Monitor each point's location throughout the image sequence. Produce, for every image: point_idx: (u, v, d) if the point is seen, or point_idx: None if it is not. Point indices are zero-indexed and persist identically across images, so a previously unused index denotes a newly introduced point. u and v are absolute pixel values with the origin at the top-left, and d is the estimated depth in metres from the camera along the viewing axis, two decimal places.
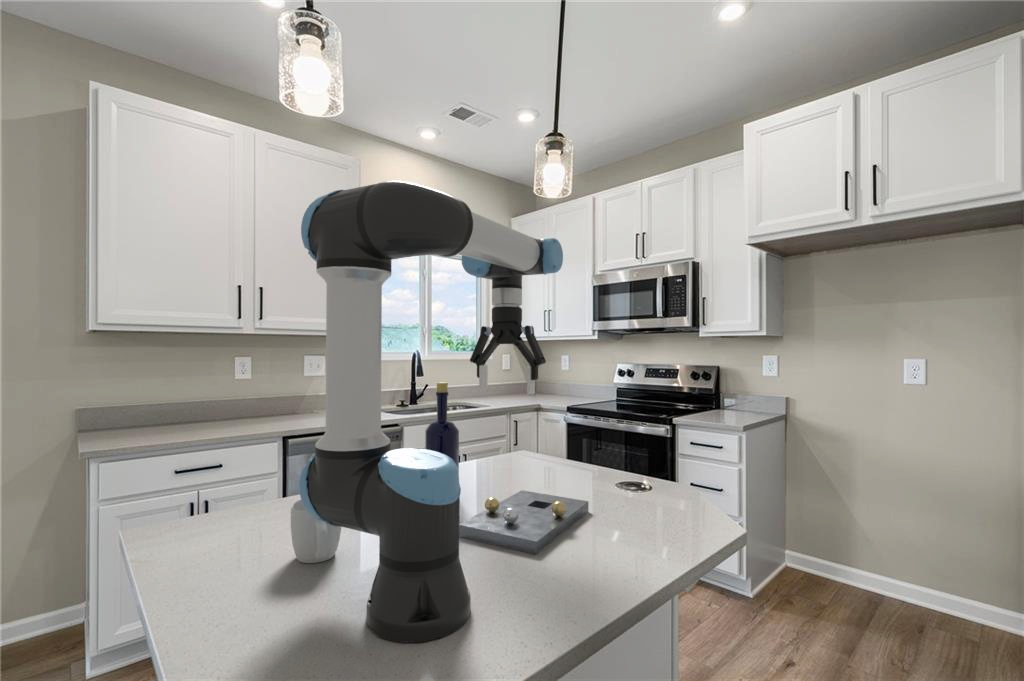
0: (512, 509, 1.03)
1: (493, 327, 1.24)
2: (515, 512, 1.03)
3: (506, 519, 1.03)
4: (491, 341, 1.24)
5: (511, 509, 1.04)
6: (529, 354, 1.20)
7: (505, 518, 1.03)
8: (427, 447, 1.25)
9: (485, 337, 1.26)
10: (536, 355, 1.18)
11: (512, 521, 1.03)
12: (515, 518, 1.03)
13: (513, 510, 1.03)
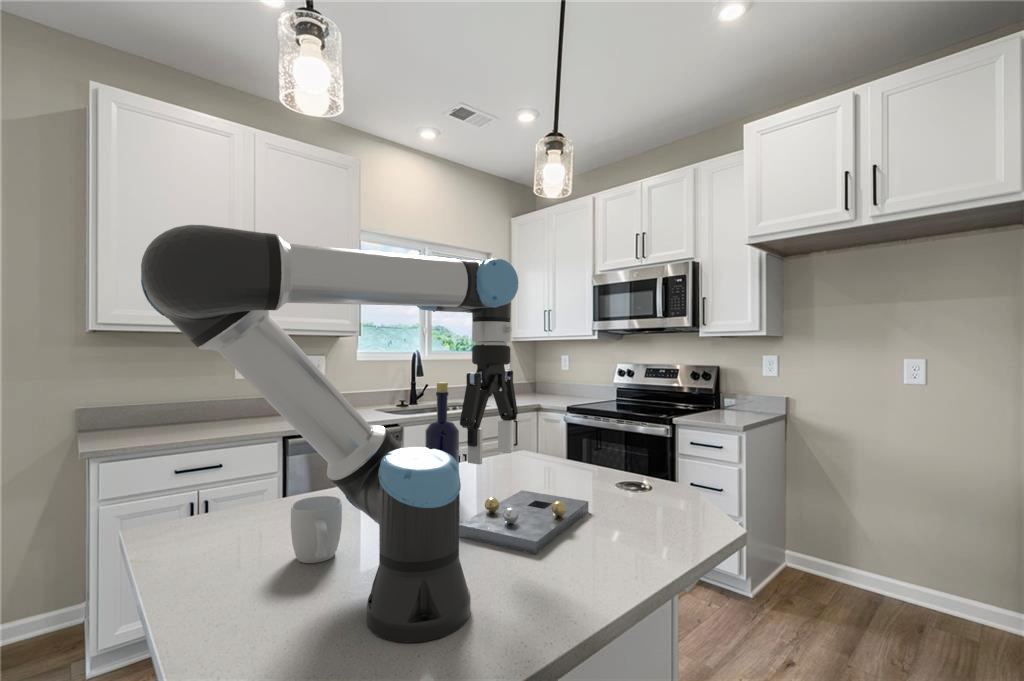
0: (512, 509, 1.03)
1: None
2: (515, 512, 1.03)
3: (506, 519, 1.03)
4: None
5: (511, 509, 1.04)
6: None
7: (505, 518, 1.03)
8: (427, 447, 1.25)
9: None
10: None
11: (512, 521, 1.03)
12: (515, 518, 1.03)
13: (513, 510, 1.03)
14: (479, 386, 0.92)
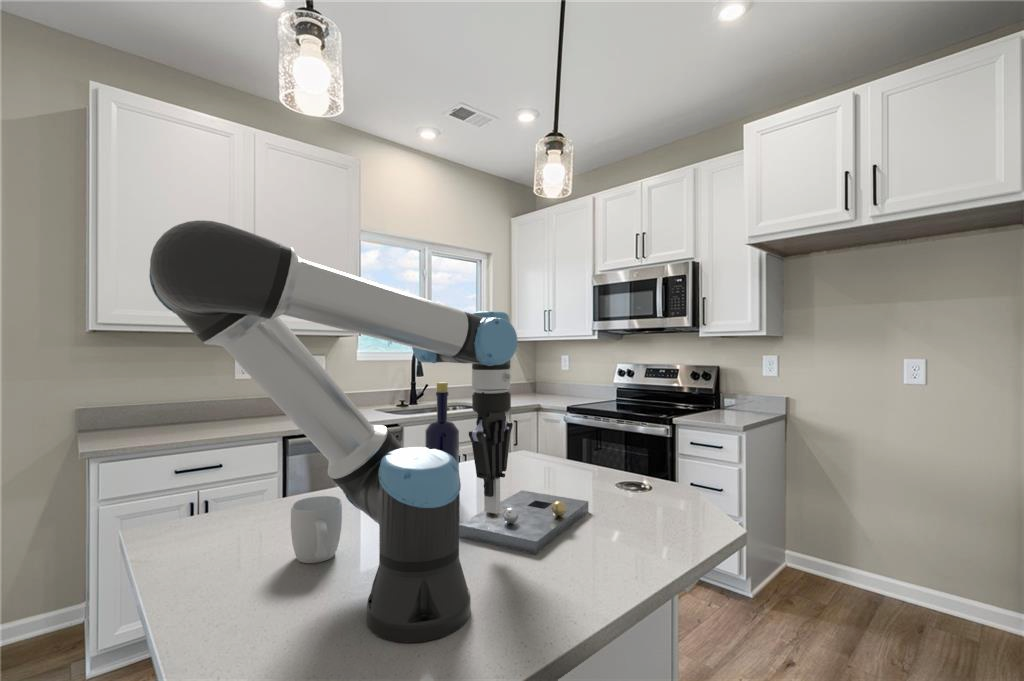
0: (512, 509, 1.03)
1: None
2: (515, 512, 1.03)
3: (506, 519, 1.03)
4: None
5: (511, 509, 1.04)
6: None
7: (505, 518, 1.03)
8: (427, 447, 1.25)
9: None
10: None
11: (512, 521, 1.03)
12: (515, 518, 1.03)
13: (513, 510, 1.03)
14: (484, 441, 0.93)
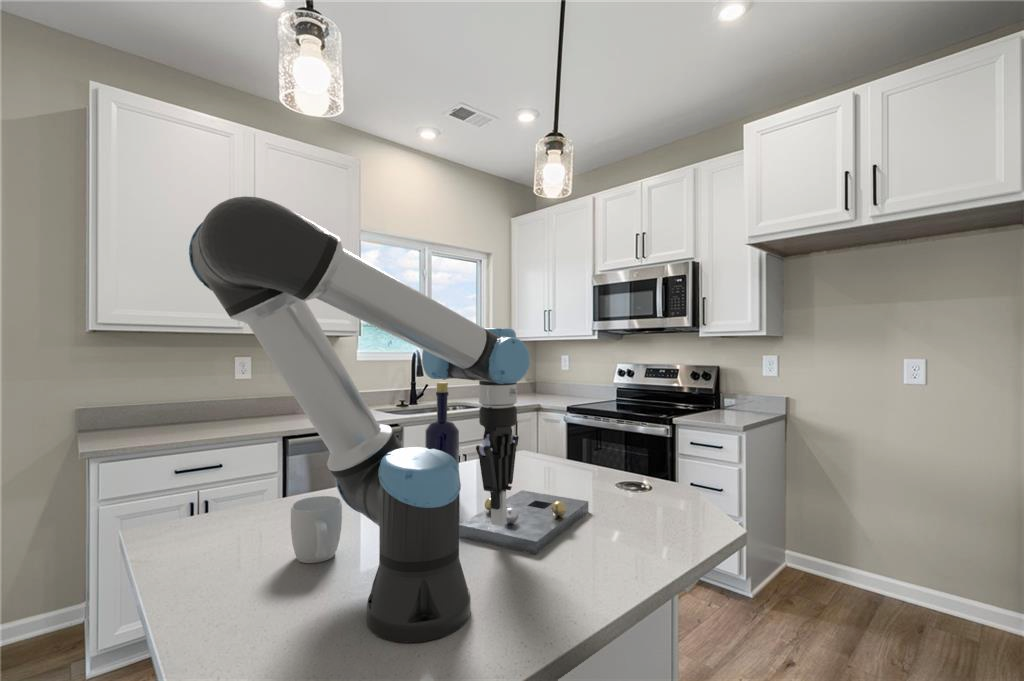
0: (512, 509, 1.03)
1: None
2: (515, 512, 1.03)
3: (506, 519, 1.03)
4: None
5: (511, 509, 1.04)
6: None
7: None
8: (427, 447, 1.25)
9: None
10: None
11: (512, 521, 1.03)
12: (515, 518, 1.03)
13: (513, 510, 1.03)
14: (491, 456, 0.95)
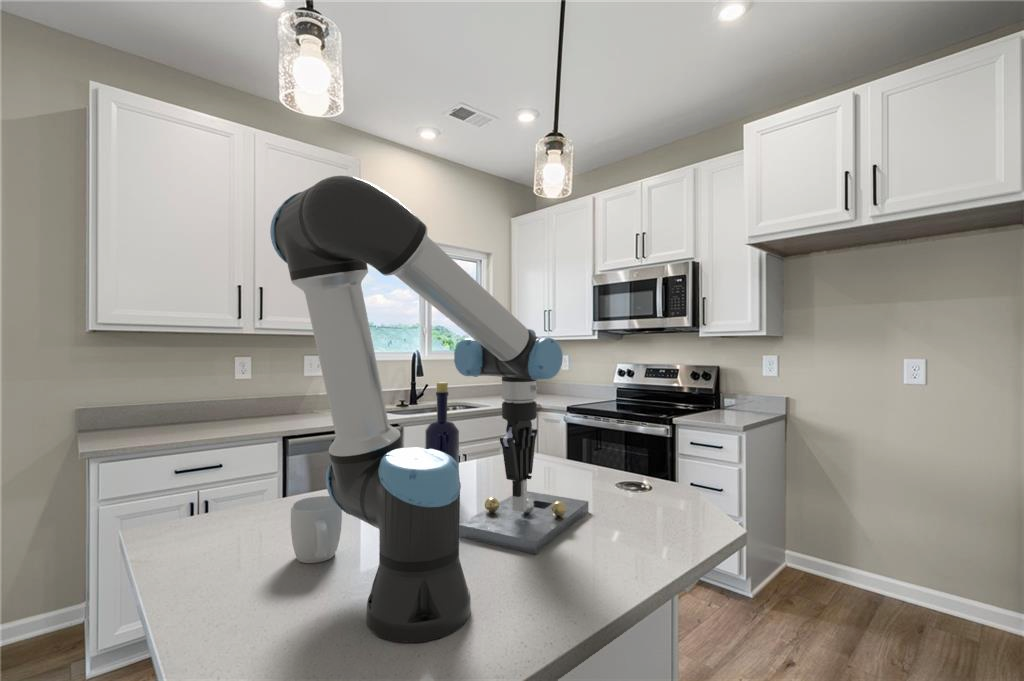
0: (526, 511, 1.09)
1: None
2: (530, 509, 1.09)
3: None
4: None
5: (525, 511, 1.09)
6: None
7: None
8: (427, 447, 1.25)
9: None
10: None
11: None
12: (533, 508, 1.10)
13: (527, 510, 1.09)
14: (514, 447, 1.03)
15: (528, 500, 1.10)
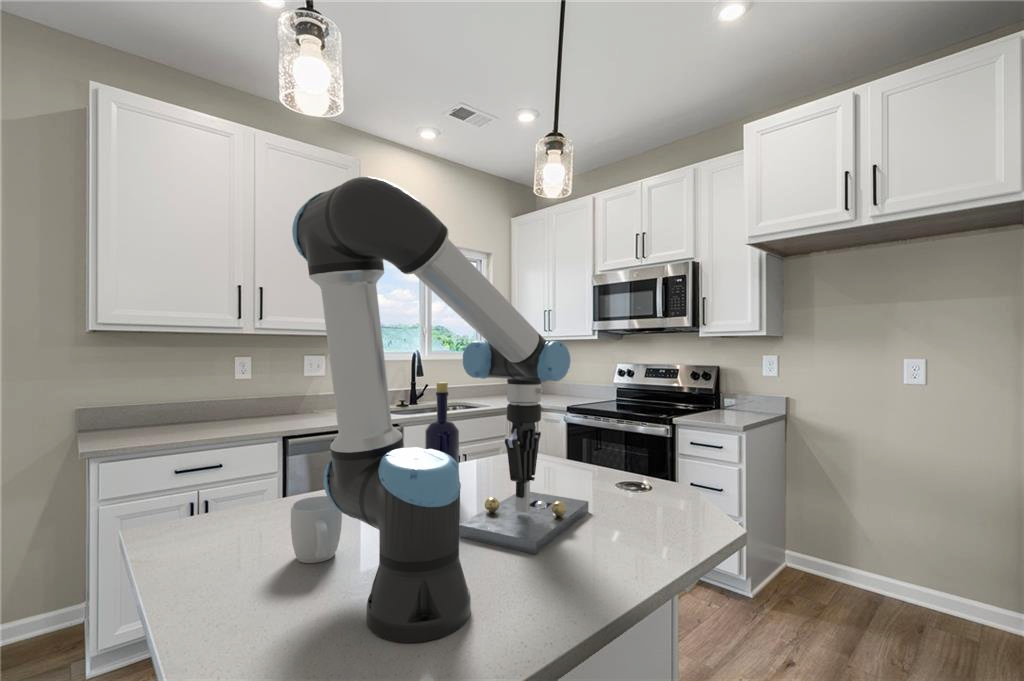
0: None
1: None
2: None
3: None
4: None
5: None
6: None
7: None
8: (427, 447, 1.25)
9: None
10: None
11: None
12: None
13: None
14: (518, 448, 1.05)
15: None
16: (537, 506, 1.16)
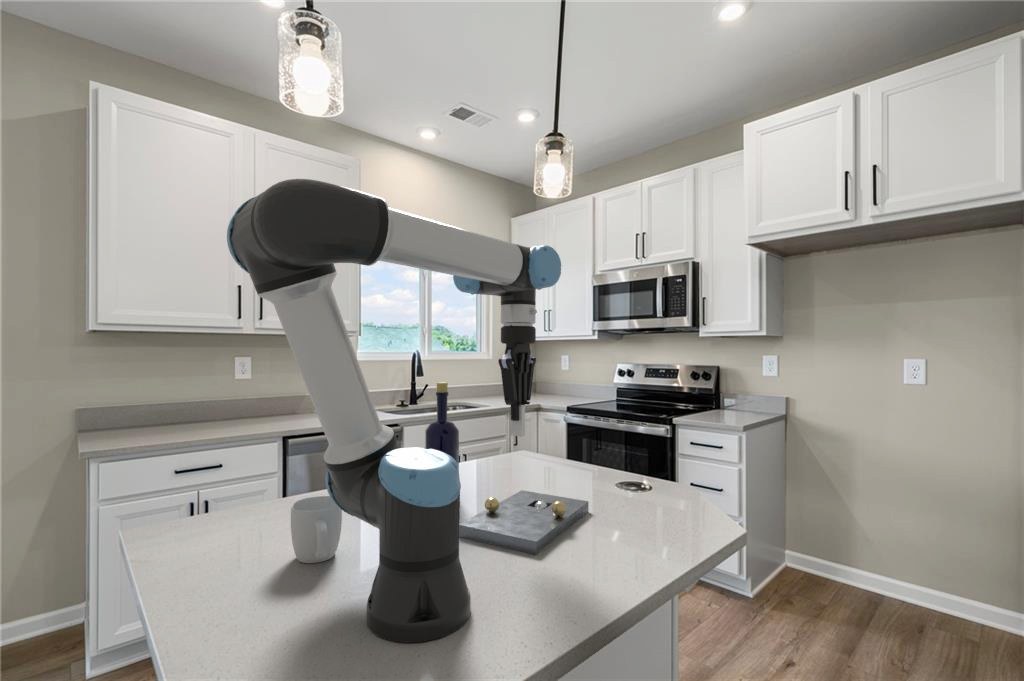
0: None
1: None
2: None
3: None
4: None
5: None
6: None
7: None
8: (427, 447, 1.25)
9: None
10: None
11: (546, 504, 1.17)
12: None
13: None
14: (512, 368, 1.02)
15: None
16: (537, 507, 1.15)
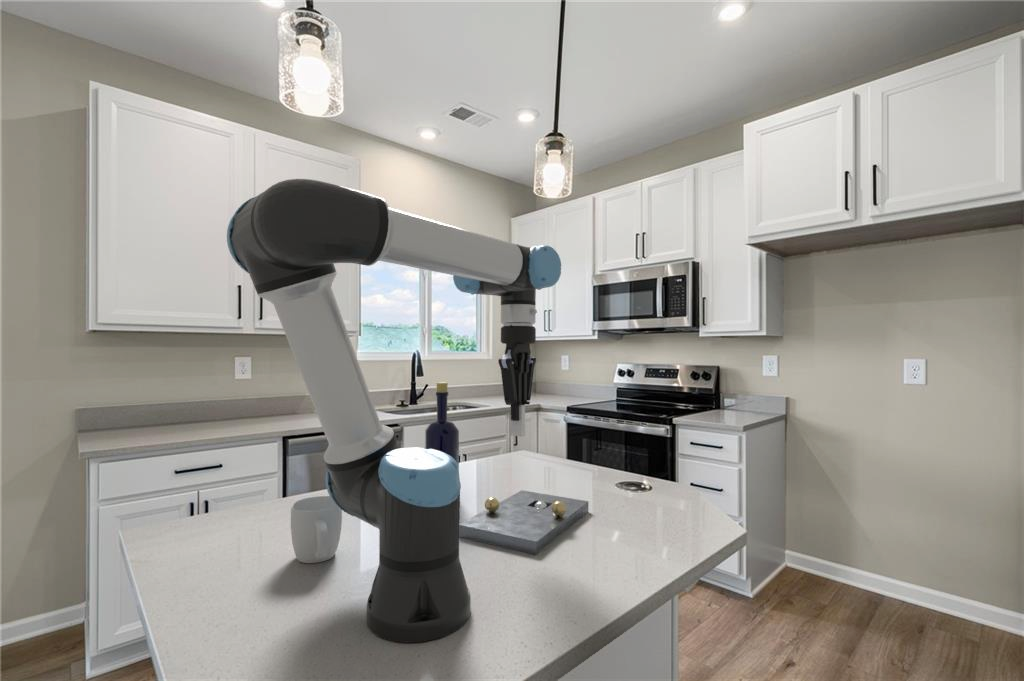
0: None
1: None
2: None
3: None
4: None
5: None
6: None
7: None
8: (427, 447, 1.25)
9: None
10: None
11: None
12: None
13: None
14: (512, 368, 1.02)
15: None
16: (536, 507, 1.15)
